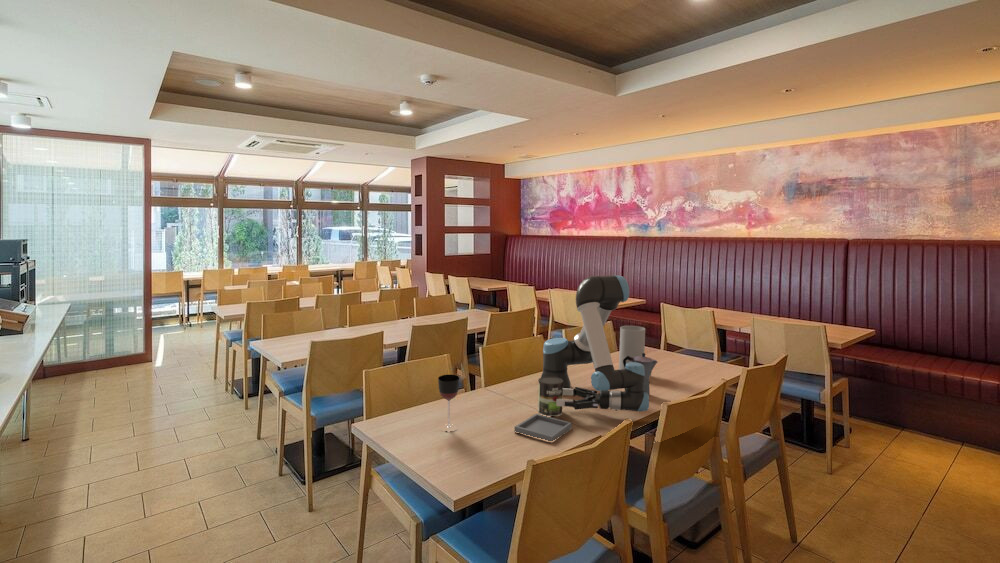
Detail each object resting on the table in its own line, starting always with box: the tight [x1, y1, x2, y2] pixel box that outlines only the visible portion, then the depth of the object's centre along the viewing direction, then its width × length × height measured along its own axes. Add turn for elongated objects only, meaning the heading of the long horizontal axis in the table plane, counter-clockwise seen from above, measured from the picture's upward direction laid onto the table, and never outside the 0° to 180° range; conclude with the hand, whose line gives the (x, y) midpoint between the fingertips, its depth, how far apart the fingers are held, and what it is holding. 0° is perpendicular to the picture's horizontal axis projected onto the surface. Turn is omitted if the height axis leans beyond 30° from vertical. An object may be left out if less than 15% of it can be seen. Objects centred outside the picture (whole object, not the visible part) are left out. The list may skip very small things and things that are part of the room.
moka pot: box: [623, 352, 658, 397], centre depth 233 cm, size 10×15×20 cm, turn 78°
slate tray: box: [514, 413, 573, 441], centre depth 193 cm, size 16×16×2 cm
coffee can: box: [537, 377, 564, 417], centre depth 211 cm, size 10×10×14 cm
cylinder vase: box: [618, 325, 646, 370], centre depth 264 cm, size 12×12×25 cm
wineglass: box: [437, 374, 460, 428], centre depth 194 cm, size 8×9×20 cm
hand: (557, 396), depth 210 cm, fingers open, 13 cm apart
